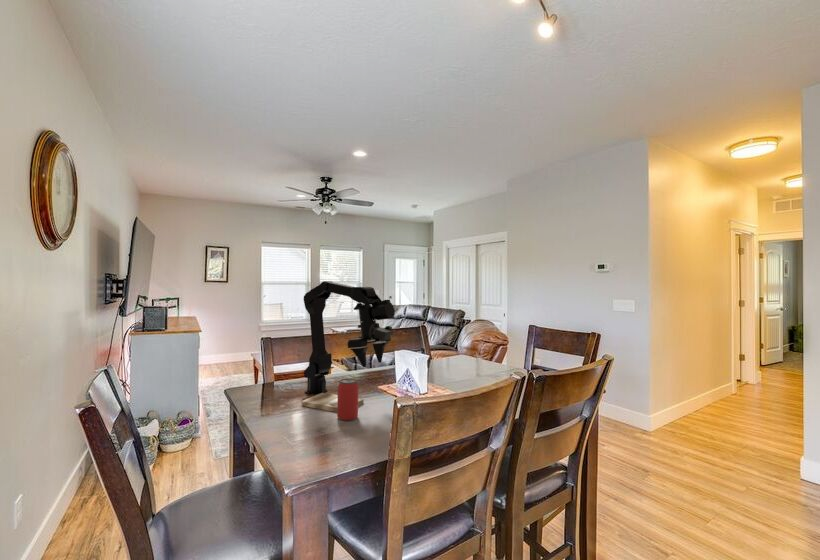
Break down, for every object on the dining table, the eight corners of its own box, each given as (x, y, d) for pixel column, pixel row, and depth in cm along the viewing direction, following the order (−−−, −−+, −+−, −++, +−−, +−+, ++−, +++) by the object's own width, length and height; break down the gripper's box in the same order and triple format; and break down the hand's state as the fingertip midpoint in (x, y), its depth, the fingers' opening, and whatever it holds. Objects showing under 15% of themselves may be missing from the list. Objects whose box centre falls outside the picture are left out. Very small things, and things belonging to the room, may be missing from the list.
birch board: (301, 405, 138) (301, 400, 138) (322, 396, 149) (322, 392, 149) (346, 413, 130) (346, 408, 130) (364, 403, 141) (364, 398, 141)
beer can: (359, 414, 129) (360, 378, 129) (355, 421, 123) (355, 383, 123) (340, 413, 130) (341, 377, 130) (334, 420, 123) (335, 382, 123)
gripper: (370, 321, 130) (375, 369, 128) (400, 317, 146) (405, 359, 144) (344, 324, 135) (348, 369, 134) (376, 319, 151) (380, 360, 150)
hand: (372, 364), depth 141 cm, fingers open, 9 cm apart
